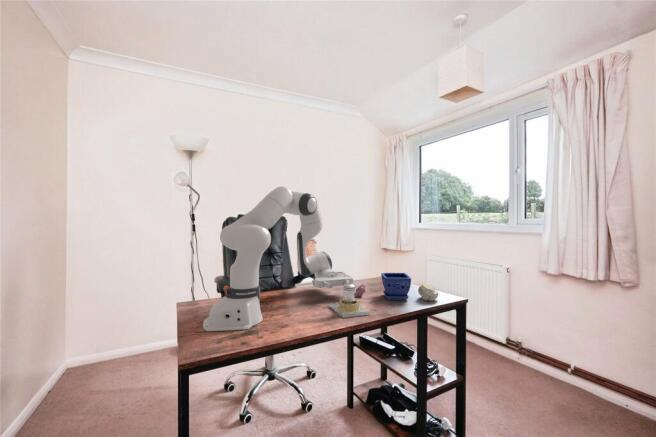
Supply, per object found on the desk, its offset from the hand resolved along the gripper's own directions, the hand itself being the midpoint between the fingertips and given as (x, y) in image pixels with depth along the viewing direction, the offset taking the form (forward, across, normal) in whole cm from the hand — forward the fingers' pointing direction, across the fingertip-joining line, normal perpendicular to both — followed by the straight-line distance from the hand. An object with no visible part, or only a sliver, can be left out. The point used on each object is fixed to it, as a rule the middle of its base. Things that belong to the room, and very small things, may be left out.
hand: (339, 285), depth 139 cm
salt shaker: (+12, 0, +7) cm, 14 cm away
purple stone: (-9, +16, +9) cm, 20 cm away
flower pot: (+2, +31, +9) cm, 32 cm away
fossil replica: (+10, +45, +9) cm, 47 cm away
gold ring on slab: (+12, 0, +9) cm, 15 cm away
